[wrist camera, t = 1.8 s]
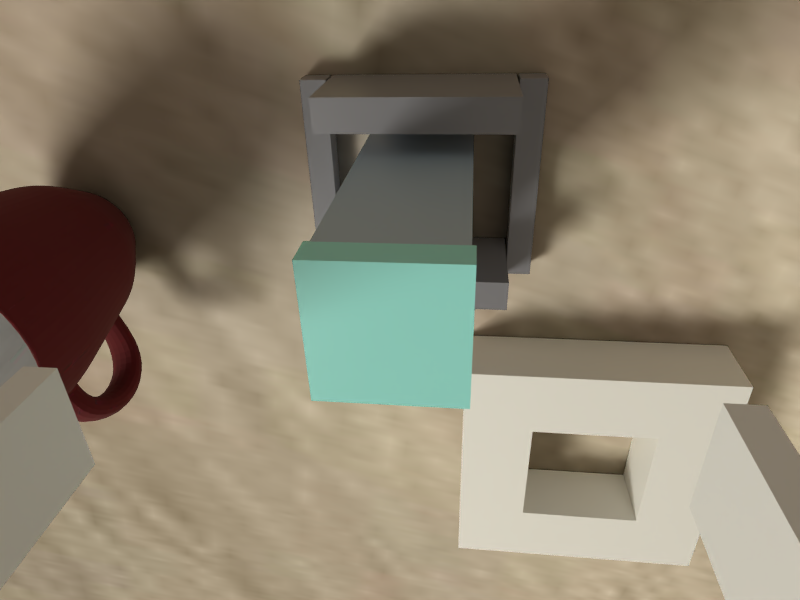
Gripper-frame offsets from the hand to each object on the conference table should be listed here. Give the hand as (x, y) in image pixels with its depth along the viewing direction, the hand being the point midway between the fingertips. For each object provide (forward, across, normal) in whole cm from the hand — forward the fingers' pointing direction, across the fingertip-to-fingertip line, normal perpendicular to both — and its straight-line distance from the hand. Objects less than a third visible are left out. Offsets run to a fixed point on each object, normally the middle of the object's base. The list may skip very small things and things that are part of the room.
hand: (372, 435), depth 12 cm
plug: (+15, 0, 0) cm, 15 cm away
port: (+15, +8, -14) cm, 22 cm away
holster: (+15, 0, 0) cm, 15 cm away
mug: (+15, -15, -4) cm, 22 cm away
